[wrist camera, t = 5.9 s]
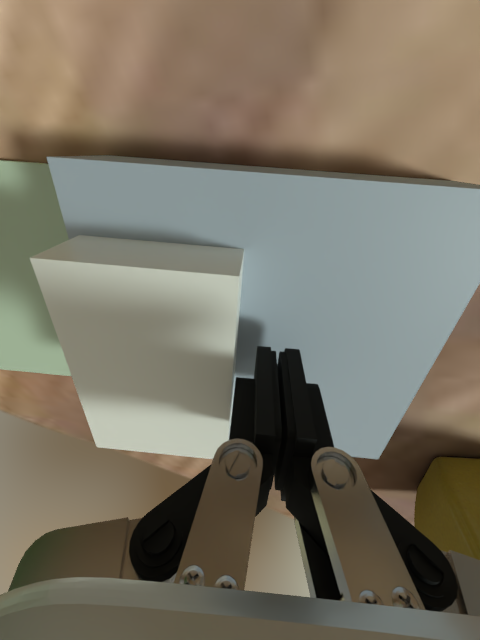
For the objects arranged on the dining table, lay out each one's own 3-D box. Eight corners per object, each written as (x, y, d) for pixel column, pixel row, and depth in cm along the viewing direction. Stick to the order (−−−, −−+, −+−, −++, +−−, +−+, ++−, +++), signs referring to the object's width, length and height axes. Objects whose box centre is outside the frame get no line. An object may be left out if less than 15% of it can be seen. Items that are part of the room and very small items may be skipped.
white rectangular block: (79, 235, 10) (29, 257, 8) (244, 248, 10) (239, 276, 8) (120, 404, 15) (96, 447, 13) (231, 415, 14) (226, 460, 12)
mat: (-125, 150, 13) (-136, 150, 12) (109, 168, 12) (105, 168, 12) (-7, 364, 19) (-12, 367, 19) (145, 378, 19) (142, 383, 19)
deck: (107, 155, 12) (46, 156, 9) (452, 180, 12) (531, 193, 8) (146, 384, 19) (121, 433, 16) (357, 404, 19) (378, 459, 16)
